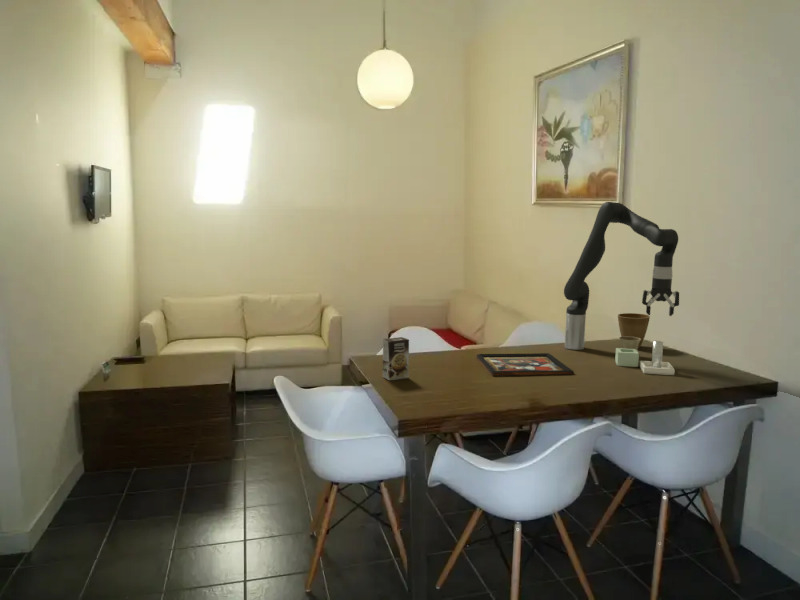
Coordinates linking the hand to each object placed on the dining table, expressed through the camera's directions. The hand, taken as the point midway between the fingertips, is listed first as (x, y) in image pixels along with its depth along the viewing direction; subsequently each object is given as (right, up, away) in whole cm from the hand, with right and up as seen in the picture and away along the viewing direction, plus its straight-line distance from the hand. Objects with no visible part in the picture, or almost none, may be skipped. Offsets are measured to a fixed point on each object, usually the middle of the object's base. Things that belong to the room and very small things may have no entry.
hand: (659, 315), depth 262 cm
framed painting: (-56, -23, +11) cm, 61 cm away
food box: (-111, -25, -8) cm, 114 cm away
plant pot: (+6, -17, +48) cm, 51 cm away
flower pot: (-2, -20, +28) cm, 35 cm away
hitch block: (-9, -22, +14) cm, 28 cm away
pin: (0, -23, +3) cm, 23 cm away
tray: (0, -24, +3) cm, 24 cm away
